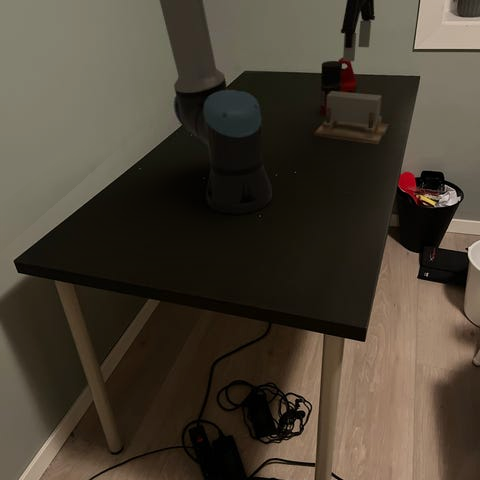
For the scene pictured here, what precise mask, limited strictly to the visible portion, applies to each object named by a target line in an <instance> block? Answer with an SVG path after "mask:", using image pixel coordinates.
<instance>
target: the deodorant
mask: <svg viewBox="0 0 480 480" xmlns="http://www.w3.org/2000/svg"><path fill="white" fill-rule="evenodd" d="M342 68H343V64H342V63H341V62H339V60H328V61H324V62H322V63H321V73H320V74H321V77H320V78H321V81H320V84H321V85H320V86H321V87H320V115H321V116H323V117H326V108H327V95H328V94H329V93H330V92H331V91H337V92H341V77H342Z"/></svg>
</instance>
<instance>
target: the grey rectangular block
mask: <svg viewBox="0 0 480 480" xmlns="http://www.w3.org/2000/svg"><path fill="white" fill-rule="evenodd" d="M381 105H382V95H380V94H367V93H357V92H356V93H355V92H349V91H348V92H337V91H331V92H330V93H329V94H328V95H327V108H331V113H330V120H331V121H339V122H348V123H356V124H365V125H368V123H369V113H370V112H373V113H374V119H373V125H374V126H376V124H377V123H378V121H379V116H381V115H380V114H381Z"/></svg>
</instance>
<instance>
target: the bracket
mask: <svg viewBox="0 0 480 480" xmlns="http://www.w3.org/2000/svg"><path fill="white" fill-rule="evenodd" d="M338 61H339V62H341V63H342V65H346V67H345V68H343V67H342V77H341V92H348V93H349V92H354V91H355V90H356V85H357V79H356V76H355V72H354V70H353V65H352V61H343V57H341V58H339V60H338Z"/></svg>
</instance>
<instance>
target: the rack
mask: <svg viewBox="0 0 480 480" xmlns="http://www.w3.org/2000/svg"><path fill="white" fill-rule="evenodd" d="M330 113H331V108H326V116H325V121H324V122H323V123H322V124H320V126H319V127H318V128H317V129H316V130H315V132H314V137H318V138H319V137H320V138H327V139H332V140H333V139H336V140H341V141H342V140H343V141H347V142H348V141H350V142H355V143H356V142H357V143H363V144H372V145H379V144H380V142H381V141H382V138H383V137H384V136H385V134H386V132H387V131H388V130H389V126H390V124H389V123H382V118H383V116H382V115H380V116H379V121H378V123H377V124H376V126H374V125H373V119H374V113H373V112H370V113H369V123H368V125H365V124H356V123H348V122H339V121H331V120H330Z"/></svg>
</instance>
